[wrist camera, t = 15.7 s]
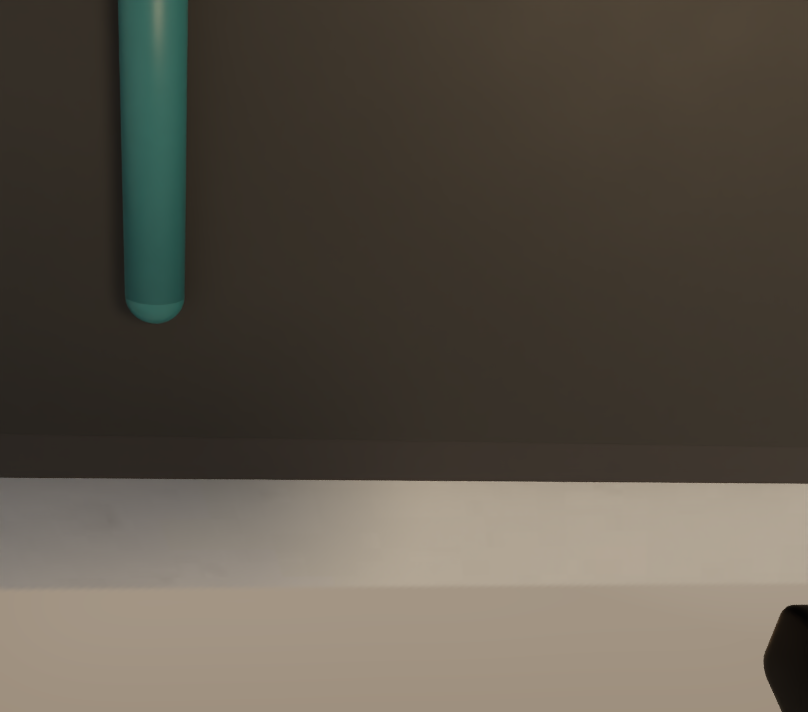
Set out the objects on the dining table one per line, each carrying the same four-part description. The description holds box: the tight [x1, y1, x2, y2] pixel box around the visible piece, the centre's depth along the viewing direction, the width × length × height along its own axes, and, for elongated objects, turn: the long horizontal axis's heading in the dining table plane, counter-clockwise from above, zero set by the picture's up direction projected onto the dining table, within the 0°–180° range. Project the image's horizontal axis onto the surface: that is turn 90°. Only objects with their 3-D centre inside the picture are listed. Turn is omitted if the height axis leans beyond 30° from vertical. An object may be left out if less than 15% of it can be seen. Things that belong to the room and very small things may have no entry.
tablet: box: [0, 0, 808, 484], centre depth 18 cm, size 28×20×1 cm
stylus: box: [118, 0, 188, 324], centre depth 15 cm, size 1×1×13 cm
